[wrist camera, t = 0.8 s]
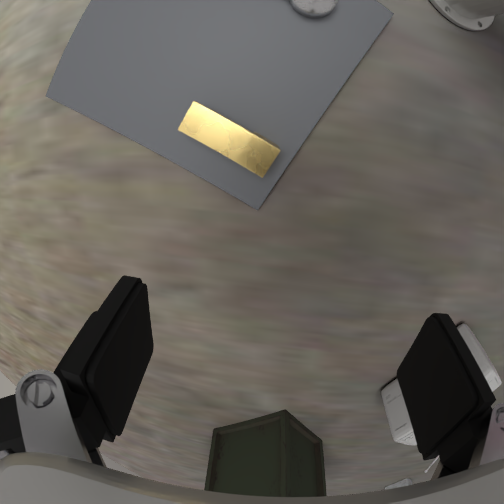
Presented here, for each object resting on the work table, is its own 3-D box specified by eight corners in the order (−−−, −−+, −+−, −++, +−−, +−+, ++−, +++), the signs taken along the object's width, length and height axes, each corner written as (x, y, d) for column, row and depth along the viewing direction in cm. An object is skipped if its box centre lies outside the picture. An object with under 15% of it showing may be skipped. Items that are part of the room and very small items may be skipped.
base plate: (161, -81, 17) (158, -86, 16) (389, 16, 24) (393, 13, 22) (52, 95, 29) (45, 96, 28) (258, 206, 36) (257, 210, 35)
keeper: (202, 101, 29) (193, 100, 25) (279, 145, 31) (280, 150, 27) (188, 126, 30) (177, 129, 27) (263, 169, 32) (262, 177, 29)
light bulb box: (390, 488, 88) (393, 508, 78) (384, 487, 86) (387, 508, 76) (412, 479, 84) (416, 499, 74) (407, 477, 82) (411, 499, 72)
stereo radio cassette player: (460, 316, 43) (511, 402, 25) (476, 333, 44) (520, 411, 27) (376, 386, 51) (398, 475, 33) (398, 397, 53) (421, 477, 35)
